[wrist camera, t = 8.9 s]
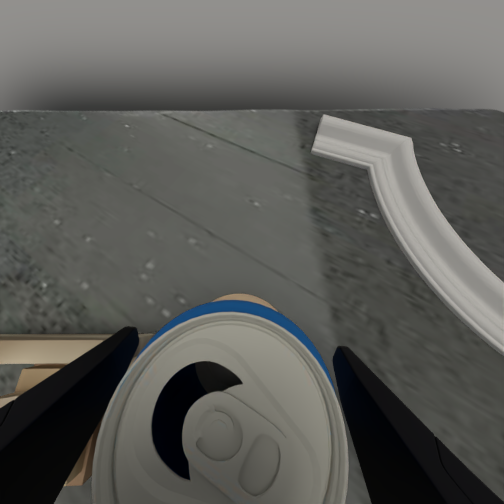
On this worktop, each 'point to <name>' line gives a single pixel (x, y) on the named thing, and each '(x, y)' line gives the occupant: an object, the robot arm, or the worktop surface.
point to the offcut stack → (85, 461)
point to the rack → (53, 347)
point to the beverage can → (223, 416)
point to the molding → (419, 223)
